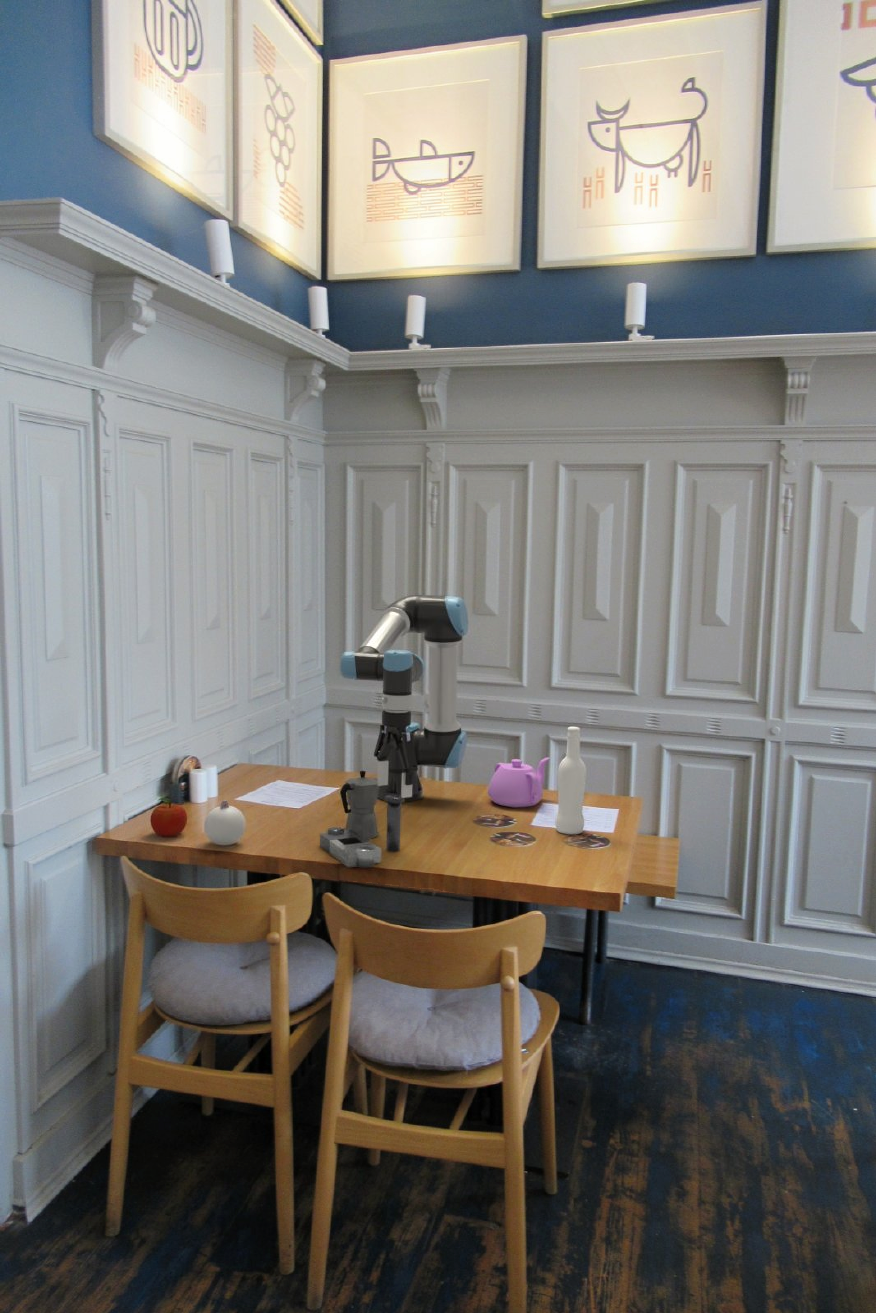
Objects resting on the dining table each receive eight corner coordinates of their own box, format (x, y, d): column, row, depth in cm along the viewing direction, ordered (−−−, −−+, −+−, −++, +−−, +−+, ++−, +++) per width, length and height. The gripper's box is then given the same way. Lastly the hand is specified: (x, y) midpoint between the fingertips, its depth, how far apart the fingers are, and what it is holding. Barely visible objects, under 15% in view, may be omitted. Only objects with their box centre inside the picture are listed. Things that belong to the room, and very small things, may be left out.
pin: (397, 845, 253) (398, 793, 251) (406, 850, 248) (407, 798, 247) (379, 847, 250) (381, 795, 249) (388, 853, 246) (390, 800, 244)
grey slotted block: (347, 839, 256) (348, 825, 256) (384, 865, 237) (385, 849, 236) (316, 844, 252) (316, 829, 251) (351, 870, 232) (352, 854, 232)
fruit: (173, 842, 250) (173, 804, 249) (143, 837, 253) (143, 800, 252) (194, 832, 259) (194, 796, 258) (165, 827, 262) (165, 792, 261)
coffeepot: (363, 826, 269) (364, 763, 267) (389, 832, 264) (391, 769, 262) (327, 838, 256) (328, 773, 254) (353, 845, 251) (355, 779, 249)
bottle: (586, 828, 273) (591, 726, 270) (580, 836, 266) (586, 730, 262) (558, 825, 276) (562, 723, 272) (552, 832, 268) (557, 728, 265)
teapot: (569, 806, 297) (572, 762, 296) (515, 815, 285) (517, 770, 284) (525, 790, 315) (526, 749, 314) (472, 798, 303) (473, 755, 302)
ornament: (225, 853, 242) (225, 807, 241) (196, 845, 248) (196, 800, 246) (253, 843, 251) (253, 798, 249) (224, 836, 256) (224, 792, 255)
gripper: (362, 703, 254) (360, 781, 256) (406, 718, 232) (403, 803, 235) (387, 702, 258) (385, 779, 260) (433, 717, 236) (430, 800, 238)
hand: (394, 791), depth 247 cm, fingers open, 13 cm apart
